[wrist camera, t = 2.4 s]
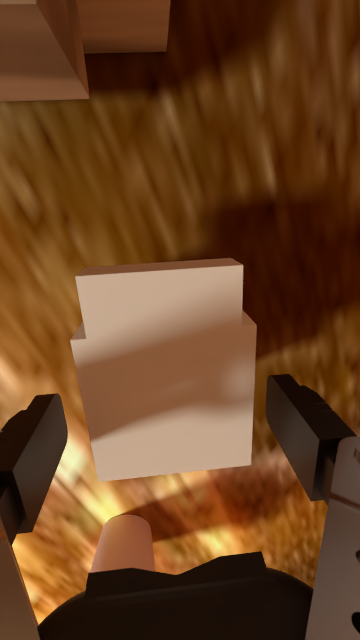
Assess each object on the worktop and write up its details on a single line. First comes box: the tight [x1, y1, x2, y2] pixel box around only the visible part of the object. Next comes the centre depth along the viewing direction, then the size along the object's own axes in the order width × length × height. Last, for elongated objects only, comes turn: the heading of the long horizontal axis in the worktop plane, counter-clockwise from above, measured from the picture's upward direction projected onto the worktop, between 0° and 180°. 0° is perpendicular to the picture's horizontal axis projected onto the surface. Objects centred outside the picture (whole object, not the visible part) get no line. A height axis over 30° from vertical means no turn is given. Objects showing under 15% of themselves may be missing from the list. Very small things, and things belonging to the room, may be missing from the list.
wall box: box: [70, 258, 257, 482], centre depth 13 cm, size 9×6×7 cm
